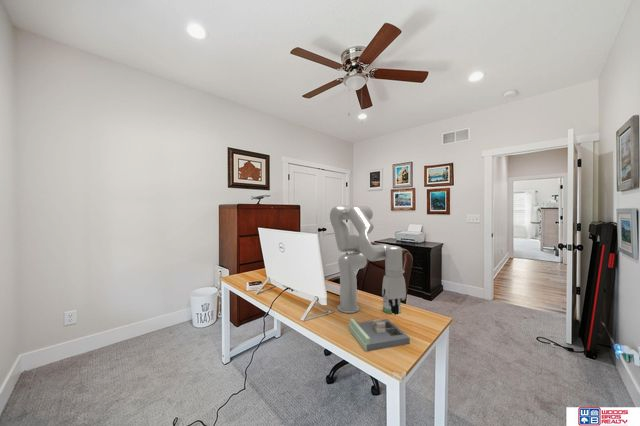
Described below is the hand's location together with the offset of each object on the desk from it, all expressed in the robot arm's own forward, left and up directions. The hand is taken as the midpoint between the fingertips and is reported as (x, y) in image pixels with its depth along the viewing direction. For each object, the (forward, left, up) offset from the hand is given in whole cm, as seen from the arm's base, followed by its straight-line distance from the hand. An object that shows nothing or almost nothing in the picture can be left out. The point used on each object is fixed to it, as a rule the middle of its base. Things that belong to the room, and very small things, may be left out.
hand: (395, 313), depth 108 cm
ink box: (-22, +12, -10) cm, 27 cm away
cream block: (-1, -8, -7) cm, 11 cm away
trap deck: (-1, -8, -10) cm, 13 cm away
